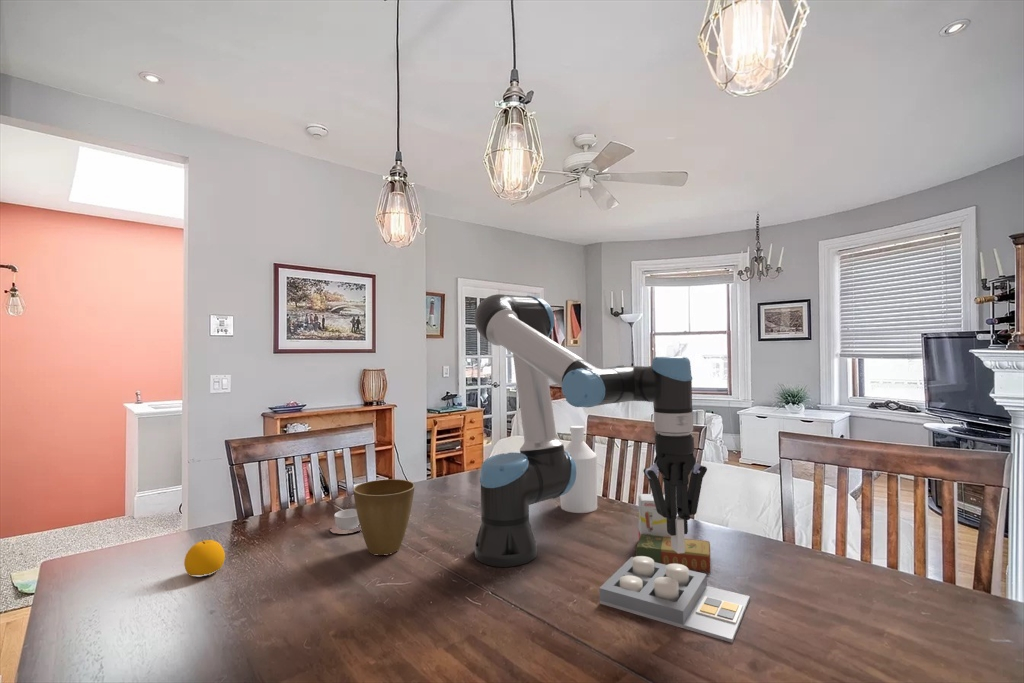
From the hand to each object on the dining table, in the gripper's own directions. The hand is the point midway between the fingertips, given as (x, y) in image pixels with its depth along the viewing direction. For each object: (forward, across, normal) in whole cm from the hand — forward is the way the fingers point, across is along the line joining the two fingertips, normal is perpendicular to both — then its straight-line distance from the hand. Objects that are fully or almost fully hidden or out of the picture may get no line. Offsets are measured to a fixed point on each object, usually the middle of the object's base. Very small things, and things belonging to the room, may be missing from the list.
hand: (678, 550), depth 100 cm
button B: (+6, -5, +5) cm, 10 cm away
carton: (+9, +7, +15) cm, 19 cm away
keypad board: (+9, -2, -2) cm, 9 cm away
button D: (+6, 0, 0) cm, 6 cm away
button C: (+6, -5, -5) cm, 9 cm away
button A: (+8, -10, 0) cm, 13 cm away
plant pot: (+8, -60, +36) cm, 70 cm away
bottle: (+8, -2, +57) cm, 58 cm away
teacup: (+8, -71, +54) cm, 90 cm away
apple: (+8, -99, +32) cm, 105 cm away
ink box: (+9, +8, +24) cm, 27 cm away
